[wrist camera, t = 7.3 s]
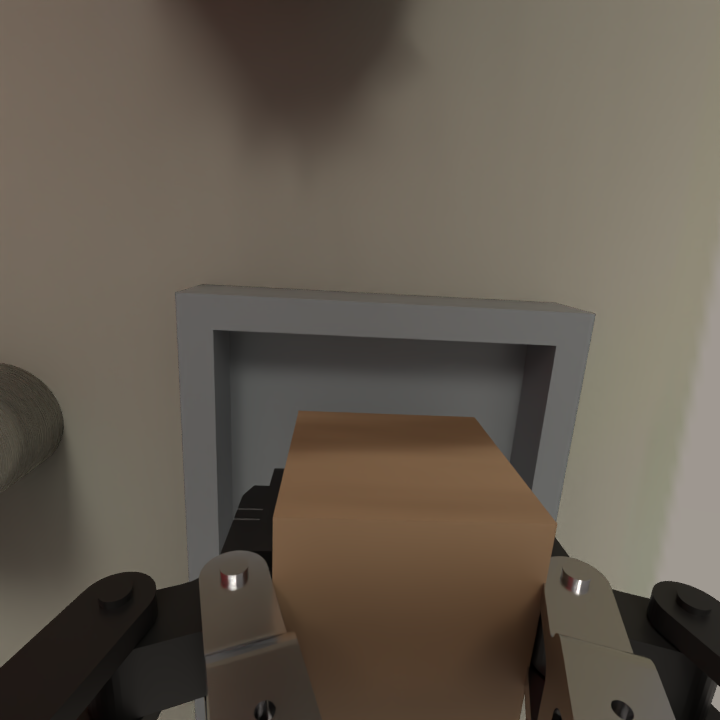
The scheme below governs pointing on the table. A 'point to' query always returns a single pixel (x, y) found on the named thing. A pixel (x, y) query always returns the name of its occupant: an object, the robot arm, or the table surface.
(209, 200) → the table surface
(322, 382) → the charcoal tray
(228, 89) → the table surface
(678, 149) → the table surface
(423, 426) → the walnut cube
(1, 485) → the steel cylinder
